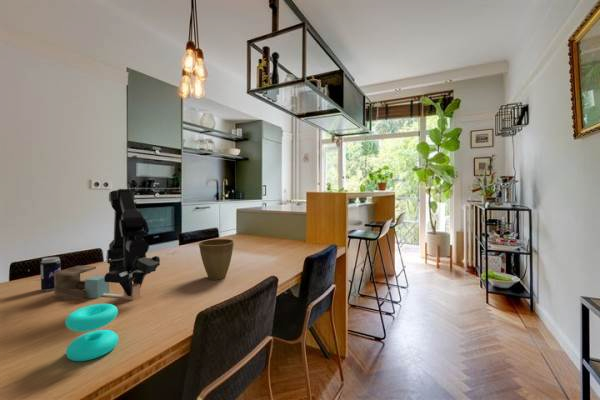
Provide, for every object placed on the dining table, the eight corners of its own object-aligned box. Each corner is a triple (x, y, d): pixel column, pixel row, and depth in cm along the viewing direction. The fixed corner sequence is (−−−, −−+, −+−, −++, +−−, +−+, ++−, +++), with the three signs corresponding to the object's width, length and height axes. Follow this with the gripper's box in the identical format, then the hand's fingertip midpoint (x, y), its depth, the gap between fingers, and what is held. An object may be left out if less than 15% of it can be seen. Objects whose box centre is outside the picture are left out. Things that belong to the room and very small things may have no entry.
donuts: (100, 299, 72) (127, 305, 68) (101, 336, 72) (127, 344, 68) (55, 315, 62) (82, 323, 59) (56, 357, 63) (83, 368, 59)
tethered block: (97, 292, 102) (97, 275, 102) (141, 295, 100) (141, 277, 99) (85, 297, 97) (84, 279, 97) (131, 300, 95) (131, 282, 94)
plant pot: (221, 270, 132) (221, 237, 131) (240, 276, 122) (240, 241, 122) (192, 277, 120) (192, 241, 120) (211, 285, 111) (211, 246, 110)
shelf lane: (78, 288, 106) (78, 265, 106) (105, 290, 104) (105, 267, 104) (54, 297, 97) (54, 272, 97) (83, 299, 95) (83, 274, 95)
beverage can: (49, 292, 102) (48, 260, 101) (37, 291, 103) (36, 259, 102) (64, 287, 107) (64, 257, 107) (53, 285, 108) (52, 256, 108)
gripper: (133, 258, 86) (133, 306, 87) (170, 246, 105) (170, 286, 105) (102, 256, 88) (103, 304, 88) (144, 245, 106) (144, 284, 107)
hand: (133, 293), depth 97 cm, fingers closed on tethered block, 3 cm apart
